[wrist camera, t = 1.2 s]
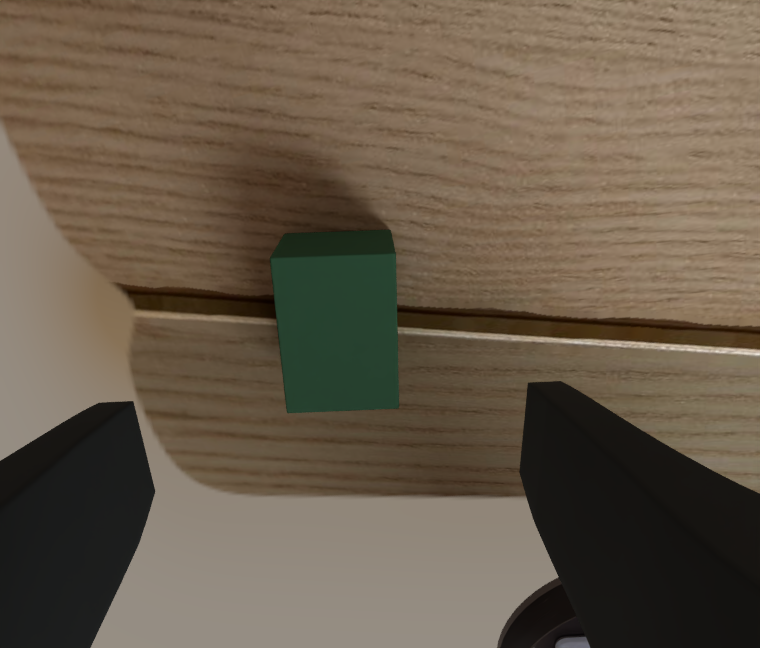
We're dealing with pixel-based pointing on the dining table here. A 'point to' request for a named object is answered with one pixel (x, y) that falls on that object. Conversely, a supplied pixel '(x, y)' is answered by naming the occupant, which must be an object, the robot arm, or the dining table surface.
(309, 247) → the green rectangular block
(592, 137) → the dining table surface
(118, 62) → the dining table surface
